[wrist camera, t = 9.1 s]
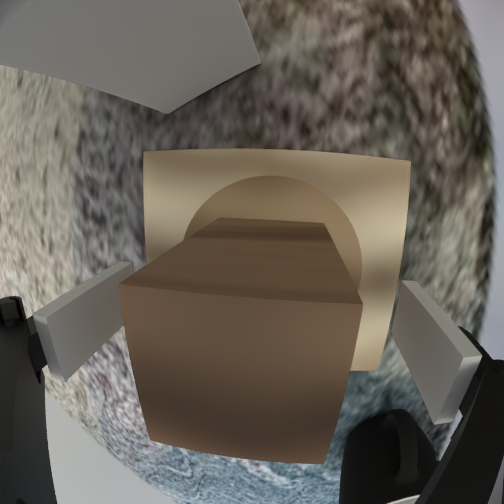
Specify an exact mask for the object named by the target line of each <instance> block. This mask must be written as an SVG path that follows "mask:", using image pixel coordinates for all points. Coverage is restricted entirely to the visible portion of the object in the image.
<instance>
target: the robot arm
mask: <svg viewBox="0 0 504 504" xmlns="http://www.w3.org/2000/svg"><path fill="white" fill-rule="evenodd" d="M132 274H133V263H132V262H122V261H120V262H118V263H116V264H115V265H113V266H111V267H109V268H108V269H106V270H104V271H102V272H101V273H99V274H97V275H96V276H94V277H92V278H90V279H89V280H87V281H85V282H84V283H82V284H80V285H79V286H77V287H75V288H74V289H72V290H70V291H69V292H67V293H65V294H64V295H62V296H61V297H59V298H57V299H56V300H54V301H52V302H51V303H49V304H48V305H46V306H44V307H43V308H41V309H40V310H38V311H36V312H35V313H33V315H32V316H31V317H29V318H28V319H26V315H25V311H24V307H23V303H22V298H20V297H17V296H9V297H5V298H2V299H0V504H57V500H56V495H55V490H54V484H53V479H52V472H51V466H50V458H49V450H48V441H47V429H46V414H45V376H44V373H43V371H42V368H43V367H44V366H46V365H48V368H49V371H50V374H51V377H54V378H56V379H59V380H61V381H64V382H66V381H67V380H68V379H69V378H70V377H71V376H72V375H73V374H74V373H75V372H76V371H77V370H78V369H79V368H80V367H81V366H82V365H83V364H84V363H85V362H86V361H87V360H88V359H89V358H90V357H91V356H92V355H93V354H94V353H95V352H96V351H97V350H98V349H99V348H100V347H101V346H102V345H103V344H104V343H105V342H106V341H107V340H109V339H110V338H111V337H112V336H113V335H114V334H115V333H116V332H117V331H118V330H119V329H120V328H121V327H122V326H123V325H124V321H123V315H122V308H121V301H120V293H119V285H118V284H119V283H121V282H122V281H124V280H125V279H126V278H128V277H129V276H131V275H132ZM391 333H392V335H393V337H394V339H395V341H396V343H397V345H398V347H399V349H400V351H401V354H402V356H403V358H404V360H405V362H406V364H407V366H408V368H409V370H410V372H411V374H412V377H413V379H414V381H415V383H416V385H417V387H418V390H419V392H420V394H421V396H422V398H423V401H424V403H425V405H426V408H427V410H428V412H429V415H430V417H431V419H432V422H433V424H434V425H435V424H442V423H448V422H452V421H453V419H454V417H455V415H456V413H457V411H458V409H459V410H460V412H461V414H462V415H463V417H462V419H461V421H460V422H459V424H458V426H457V428H456V430H455V431H454V433H453V435H452V436H451V438H450V439H451V441H450V443H449V445H448V447H447V449H446V451H445V453H444V455H443V457H442V459H441V460H440V462H439V464H438V466H437V468H436V469H435V471H434V473H433V475H432V476H431V478H430V480H429V481H428V483H427V485H426V486H425V488H424V489H423V491H422V493H421V494H420V496H419V497H418V499H417V500H416V502H415V503H414V504H488V501H489V498H490V496H491V493H492V491H493V488H494V485H495V482H496V479H497V476H498V472H499V470H500V467H501V463H502V459H503V456H504V360H493V359H492V358H491V357H490V356H489V354H488V353H487V352H486V351H485V350H484V348H483V347H482V346H480V344H479V343H478V342H477V340H475V338H474V337H473V336H472V335H471V334H470V332H468V331H467V330H465V329H464V328H462V327H460V326H457V325H456V324H455V323H454V322H453V321H452V320H451V318H450V317H449V316H448V315H447V314H446V313H445V312H444V311H443V310H442V308H441V307H440V306H439V305H438V304H437V303H436V302H435V301H434V300H433V299H432V298H431V297H430V295H429V294H428V293H427V292H426V291H425V290H424V289H423V288H422V287H421V286H420V285H419V284H418V283H417V282H416V281H404V280H401V286H400V291H399V297H398V302H397V307H396V311H395V316H394V321H393V325H392V329H391ZM502 504H504V480H503V495H502Z"/></svg>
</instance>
